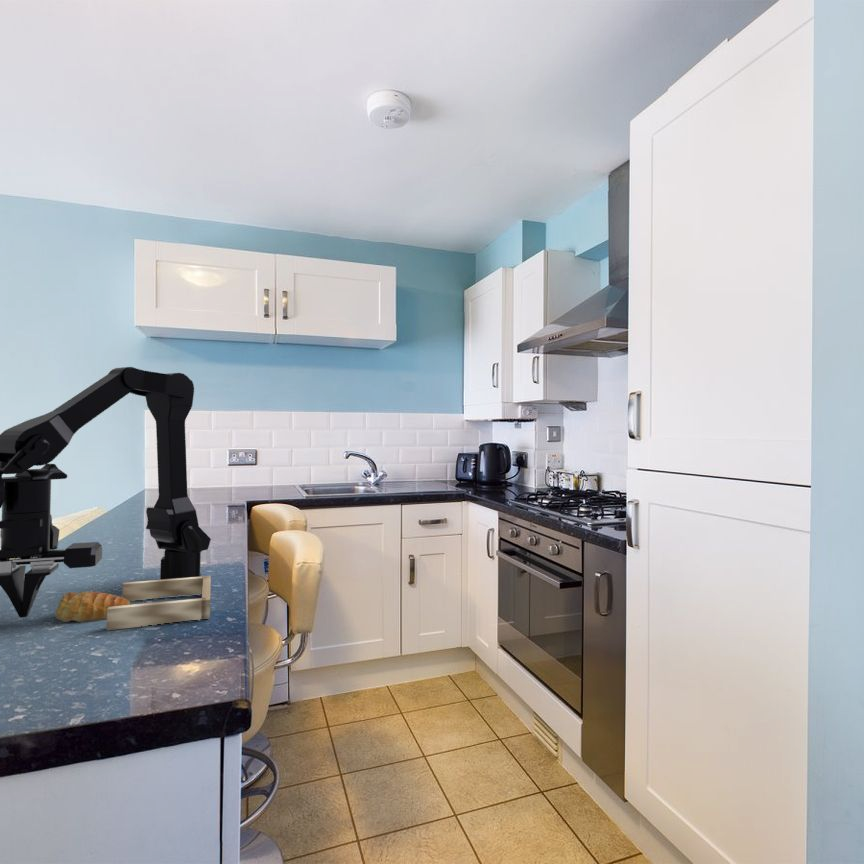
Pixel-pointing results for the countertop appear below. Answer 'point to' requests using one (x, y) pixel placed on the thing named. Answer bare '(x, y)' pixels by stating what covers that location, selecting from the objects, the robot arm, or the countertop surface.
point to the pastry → (87, 606)
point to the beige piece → (161, 603)
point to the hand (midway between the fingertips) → (24, 616)
